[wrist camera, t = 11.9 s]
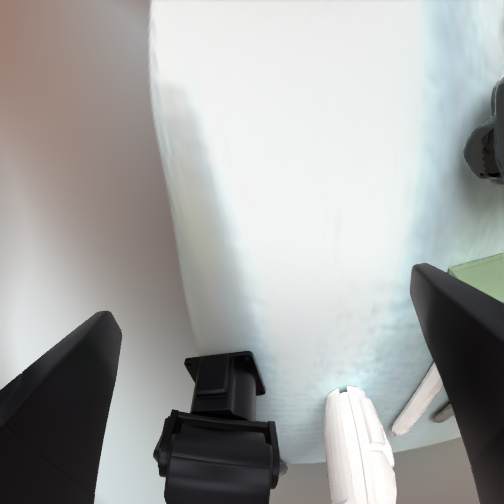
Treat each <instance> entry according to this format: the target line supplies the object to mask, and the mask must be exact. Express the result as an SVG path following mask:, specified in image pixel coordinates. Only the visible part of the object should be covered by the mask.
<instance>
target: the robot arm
mask: <svg viewBox="0 0 504 504" xmlns="http://www.w3.org/2000/svg"><path fill="white" fill-rule="evenodd" d="M410 295H411V298H412V301H413V304H414V307H415V310H416V313H417V316H418V319H419V323H420V326H421V329H422V332H423V335H424V338H425V341H426V344H427V346H428V348H429V351H430V353H431V355H432V358H433V360H434V363H435V365H436V368H437V370H438V372H439V375H440V377H441V380H442V383H443V385H444V388H445V390H446V393H447V396H448V398H449V401H450V404H451V407H452V409H453V412H454V415H455V418H456V421H457V424H458V427H459V430H460V433H461V436H462V439H463V442H464V445H465V448H466V452H467V455H468V459H469V462H470V465H471V470H472V473H473V477H474V481H475V485H476V489H477V493H478V497H479V501H480V504H504V303H503V302H501V301H499V300H497V299H495V298H493V297H492V296H490V295H488V294H486V293H484V292H482V291H480V290H479V289H477V288H475V287H473V286H471V285H469V284H467V283H465V282H463V281H461V280H459V279H457V278H456V277H454V276H452V275H450V274H448V273H446V272H444V271H442V270H440V269H438V268H436V267H434V266H432V265H430V264H428V263H421V264H416V265H414V266H413V267H412V273H411V283H410ZM121 341H122V332H121V329H120V328H119V326H118V324H117V322H116V320H115V318H114V317H113V315H112V313H111V312H109V311H100V312H97V313H95V314H94V315H93V316H92V317H90V318H89V319H88V320H86V321H85V322H84V323H83V324H81V325H80V326H79V327H77V328H76V329H75V330H74V331H72V332H71V333H70V334H69V335H67V336H66V337H65V338H64V339H62V340H61V341H60V342H59V343H58V344H56V345H55V346H54V347H53V348H51V349H50V350H49V351H47V352H46V353H45V354H44V355H42V356H41V357H40V358H39V359H38V360H36V361H35V362H34V363H33V364H31V365H30V366H29V367H28V368H27V369H25V370H24V371H23V372H22V374H19V375H18V376H17V377H16V378H15V379H13V380H12V381H11V382H10V383H8V384H7V385H6V386H5V387H4V388H3V389H1V390H0V504H94V498H95V489H96V482H97V474H98V469H99V462H100V456H101V450H102V445H103V439H104V434H105V428H106V423H107V418H108V414H109V408H110V404H111V399H112V395H113V390H114V386H115V381H116V376H117V369H118V361H119V354H120V348H121V347H120V346H121ZM247 356H248V357H247ZM184 365H185V367H186V368H187V370H188V372H189V373H190V375H191V377H192V379H193V380H194V382H195V388H194V394H193V399H192V406H191V411H190V413H185V412H179V411H178V410H172V412H171V415H170V417H169V416H168V418H166V419H165V422H164V427H163V431H162V435H161V437H160V439H159V441H158V443H157V445H156V448H155V450H154V453H153V457H154V458H155V460H156V461H157V462H158V468H159V475H160V476H161V477H166V481H165V491H164V498H165V501H166V504H269V497H270V489H275V487H276V486H277V483H278V478H279V471H280V454H279V447H278V440H277V433H276V426H275V422H274V421H268V422H260V421H255V409H256V396H258V395H264V394H265V386H264V384H263V381H262V378H261V375H260V373H259V370H258V367H257V364H256V361H255V359H254V356H253V353H252V352H250V351H243V352H235V353H227V354H219V355H211V356H202V357H193V358H186V359H185V363H184Z"/></svg>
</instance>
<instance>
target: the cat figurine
mask: <svg viewBox="0 0 504 504" xmlns="http://www.w3.org/2000/svg"><path fill="white" fill-rule="evenodd" d="M491 108H492V117H491V118H489V119H487V120H486V121H485V122H484V124H483V125H482V126H480V127H478V128H476V129H475V130H474V131H473V132H472V134H471V135H470V137H469V138H468V140H467V142H466V145H465V148H464V157H465V159H466V162H467V163H468V165H469V167H470V168H471V170H472V171H473V172H474V173H475V174H476V175H477V176H478V177H479V178H483V179H490V181H491V182H493V183H494V184H497V185H503V186H504V77H503V78H502V79H500V80H499V81H498V82H497V83H496V85H495V87H494V89H493V92H492V100H491Z"/></svg>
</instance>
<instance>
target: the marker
mask: <svg viewBox="0 0 504 504" xmlns="http://www.w3.org/2000/svg"><path fill="white" fill-rule="evenodd" d="M442 386H443V383H442V380H441V377H440V375H439V372H438V370H437V368H436V365H435V363H433V365H432V367H431V368H430V370H429V371H428V373H427V375H426V376H425V378H424V379H423V381H422V383H421V384H420V386H419V387H418V389H417V390H416V392H415V393H414V395H413V396H412V398H411V399H410V401H409V402H408V403H407V405H406V406H405V408H404V409H403V411H402V412H401V413H400V415H399V416H398V418H397V419H396V420H395V422H394V424H393V427H392V430H393V431H392V436H391V437H393V436H395V435H402V434H406V433H407V432H408V430H409V429H410V428H411V427H412V426H413V424H414V423H415V422H416V421H417V419H418V418H419V417H420V415H421V414H422V413H423V412H424V410H425V409H426V408H427V406H428V405H429V404H430V402H431V401H432V400H433V398H434V397H435V396H436V394H437V393H438V391H439V390H440V389H441V387H442Z"/></svg>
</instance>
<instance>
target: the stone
mask: <svg viewBox="0 0 504 504" xmlns="http://www.w3.org/2000/svg"><path fill="white" fill-rule="evenodd" d="M453 415H454V412H453V409H452V407H451V404H449V405H448V406H446V407H445V408H444V409H443V410H442V411H441V412H440V413H439V414H437V415H436V416H435V417H434V422H437V423H440V422H443V421H445V420H447V419H449V418H450V417H452V416H453Z"/></svg>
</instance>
